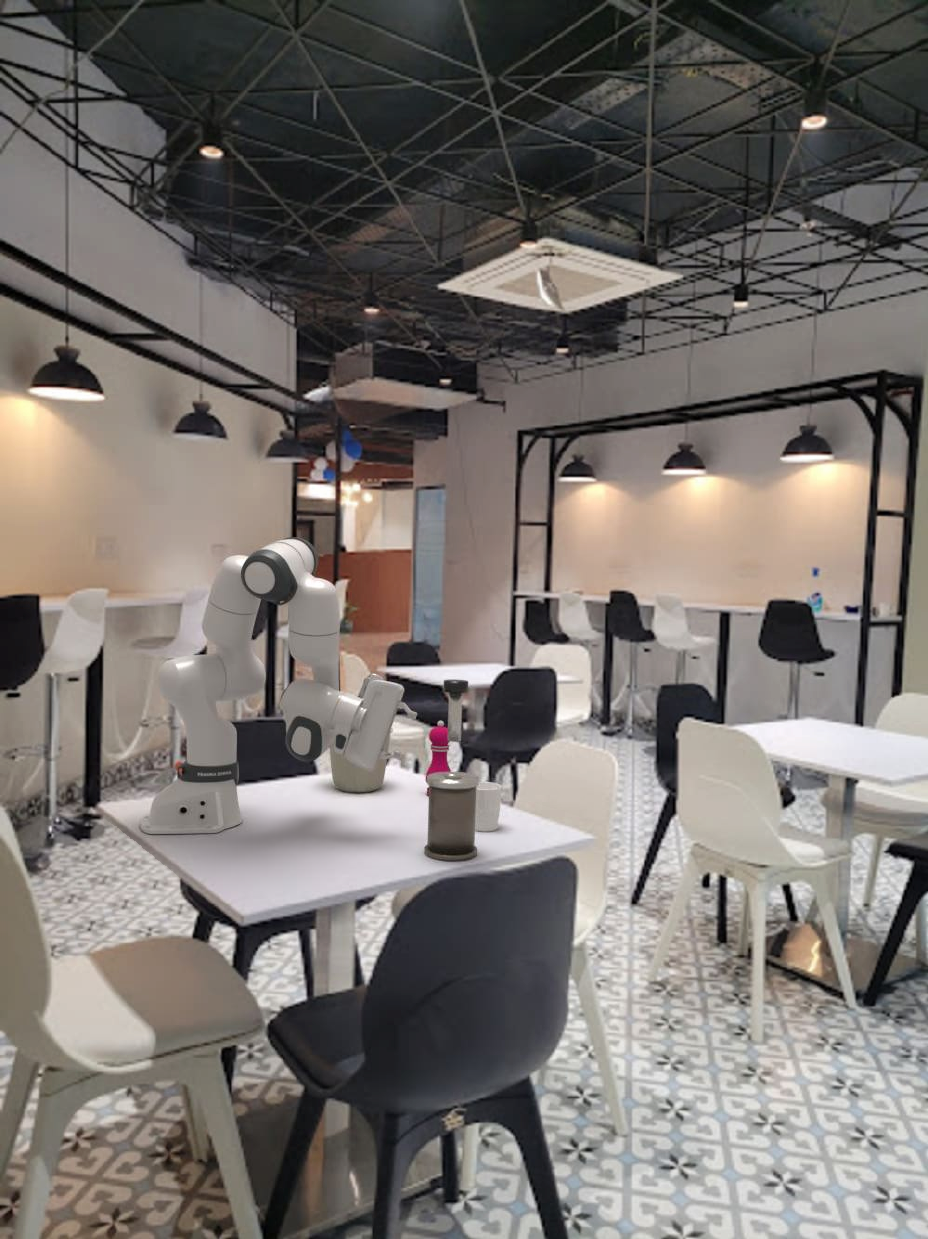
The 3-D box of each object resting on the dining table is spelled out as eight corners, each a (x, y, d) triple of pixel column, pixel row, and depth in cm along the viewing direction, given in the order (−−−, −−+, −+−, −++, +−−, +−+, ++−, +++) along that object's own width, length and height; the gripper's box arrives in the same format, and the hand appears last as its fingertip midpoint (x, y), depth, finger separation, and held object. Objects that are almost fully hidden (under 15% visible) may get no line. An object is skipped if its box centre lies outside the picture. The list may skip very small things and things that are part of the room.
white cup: (504, 825, 214) (505, 783, 213) (494, 834, 206) (496, 791, 206) (472, 821, 216) (474, 780, 216) (462, 830, 209) (463, 787, 208)
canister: (378, 779, 258) (380, 705, 256) (401, 793, 241) (403, 715, 240) (316, 783, 250) (318, 707, 249) (336, 799, 233) (338, 718, 232)
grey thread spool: (434, 863, 184) (436, 781, 183) (417, 847, 195) (419, 769, 194) (485, 858, 188) (487, 778, 187) (465, 843, 199) (468, 766, 198)
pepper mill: (453, 792, 244) (455, 719, 243) (450, 799, 237) (452, 723, 236) (426, 791, 245) (429, 718, 244) (423, 797, 238) (425, 722, 237)
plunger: (446, 743, 187) (448, 682, 186) (438, 738, 192) (440, 679, 191) (470, 742, 189) (472, 682, 188) (461, 737, 193) (463, 679, 193)
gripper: (370, 671, 204) (427, 692, 202) (339, 757, 203) (396, 778, 201) (363, 670, 198) (422, 692, 196) (332, 759, 197) (390, 781, 195)
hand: (408, 736), depth 198 cm, fingers open, 8 cm apart
